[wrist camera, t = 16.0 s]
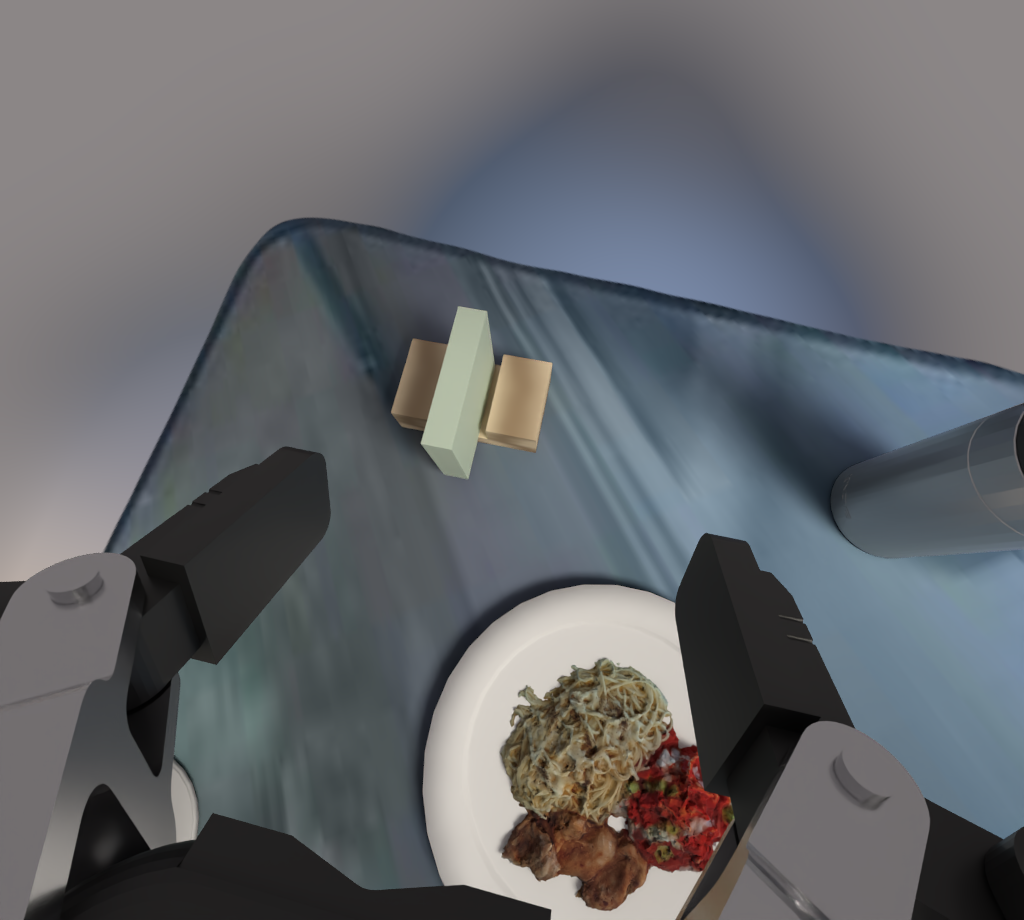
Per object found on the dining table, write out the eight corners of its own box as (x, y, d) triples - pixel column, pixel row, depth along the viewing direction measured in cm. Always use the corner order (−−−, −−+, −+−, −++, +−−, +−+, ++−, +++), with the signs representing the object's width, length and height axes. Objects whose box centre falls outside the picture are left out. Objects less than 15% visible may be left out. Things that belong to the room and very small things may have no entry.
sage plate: (495, 367, 47) (486, 311, 37) (468, 479, 44) (451, 449, 34) (472, 363, 47) (458, 306, 38) (444, 474, 44) (420, 443, 35)
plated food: (421, 598, 43) (413, 599, 40) (741, 570, 43) (759, 569, 39) (434, 1007, 35) (425, 1050, 32) (827, 975, 35) (858, 1015, 32)
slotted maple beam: (550, 380, 48) (552, 363, 44) (535, 452, 46) (536, 440, 42) (422, 357, 49) (413, 338, 45) (402, 426, 47) (390, 412, 43)
